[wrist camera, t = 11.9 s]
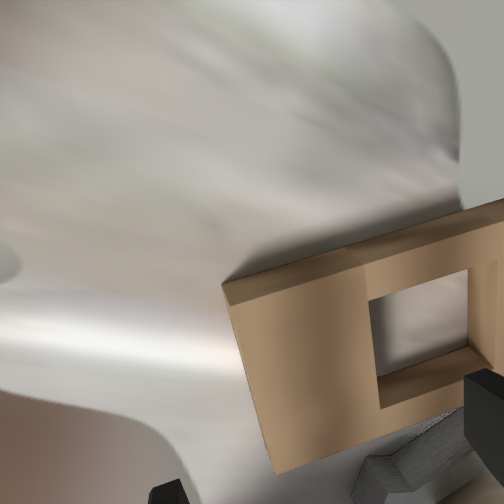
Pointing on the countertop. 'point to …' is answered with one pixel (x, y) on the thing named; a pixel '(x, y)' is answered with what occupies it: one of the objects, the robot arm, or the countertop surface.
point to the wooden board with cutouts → (362, 335)
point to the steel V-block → (421, 467)
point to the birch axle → (477, 491)
